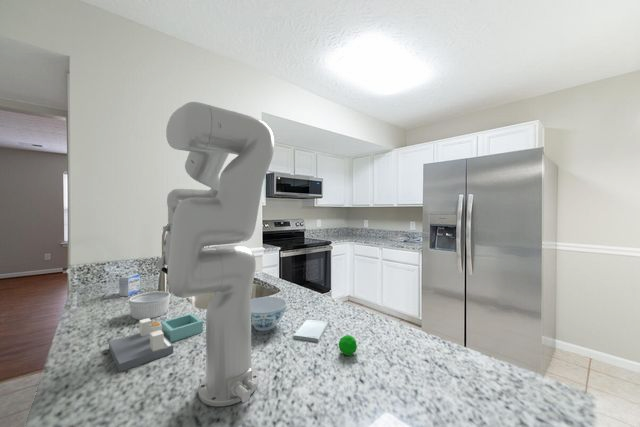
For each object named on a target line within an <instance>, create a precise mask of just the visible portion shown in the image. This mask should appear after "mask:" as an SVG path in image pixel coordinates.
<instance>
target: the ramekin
mask: <svg viewBox="0 0 640 427" xmlns="http://www.w3.org/2000/svg"><path fill="white" fill-rule="evenodd" d="M170 299H171V292H170V291H169V292H168V291H161V290H160V291H158V290H157V291H156V290H155V291H148V292H143V293H140V294H135V295H134V296H133V295H132V296H131V297H130V298H129V299H128V304H129V309H130V316H131V317H132V318H133V319H135V320H143V319H147V318H150V320H151V319H155V318H157V317H158V316H159V317H161V316H163V315H165V314H166V313H167V311H168V310H169V303H170ZM165 312H166V313H165ZM164 313H165V314H164ZM159 317H158V318H159Z"/></svg>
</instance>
